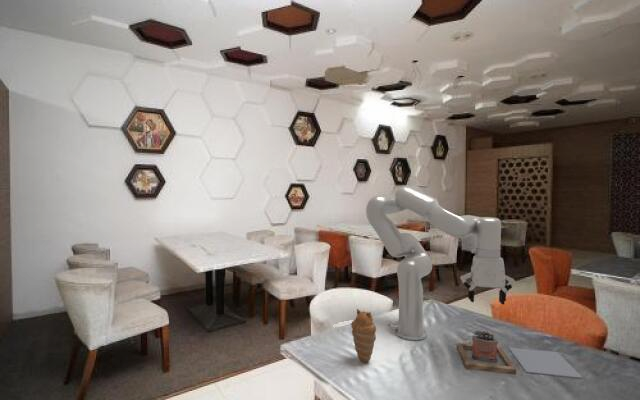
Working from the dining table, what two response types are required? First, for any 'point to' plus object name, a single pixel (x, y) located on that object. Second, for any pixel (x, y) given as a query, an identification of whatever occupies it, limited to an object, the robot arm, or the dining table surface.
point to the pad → (544, 363)
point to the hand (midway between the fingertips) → (486, 301)
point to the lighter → (484, 347)
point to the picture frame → (486, 367)
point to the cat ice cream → (363, 335)
